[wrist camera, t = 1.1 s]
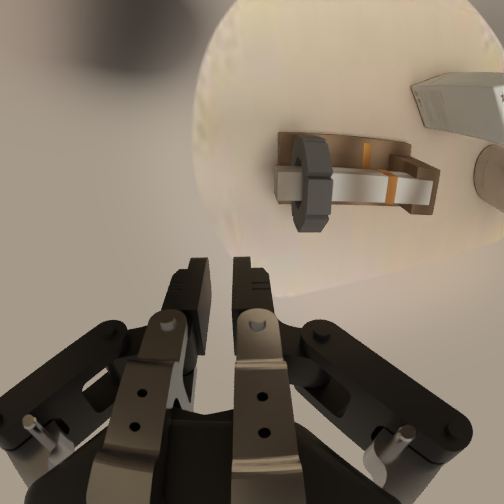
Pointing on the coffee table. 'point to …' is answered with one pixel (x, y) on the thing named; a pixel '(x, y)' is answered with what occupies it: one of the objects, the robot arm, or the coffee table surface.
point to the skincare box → (464, 104)
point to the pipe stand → (363, 173)
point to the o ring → (312, 183)
